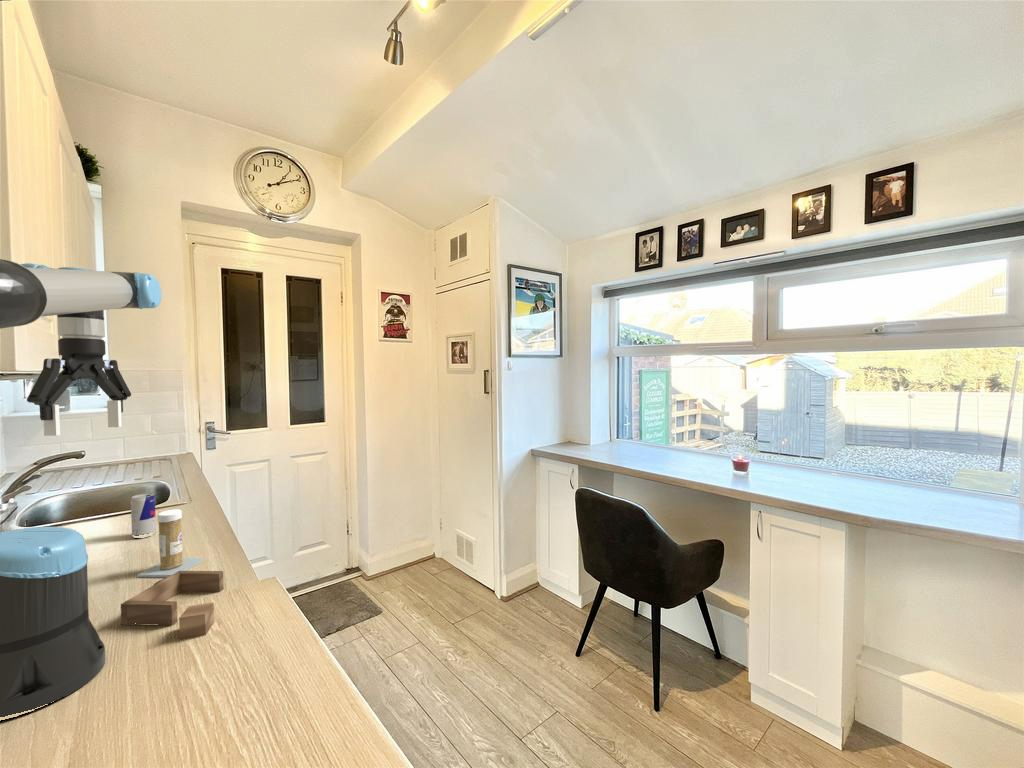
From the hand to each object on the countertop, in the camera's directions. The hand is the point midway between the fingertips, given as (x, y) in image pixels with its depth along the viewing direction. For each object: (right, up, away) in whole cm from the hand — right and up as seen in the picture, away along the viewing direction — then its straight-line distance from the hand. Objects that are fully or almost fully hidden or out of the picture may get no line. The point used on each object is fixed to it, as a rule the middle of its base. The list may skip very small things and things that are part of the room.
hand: (85, 431), depth 96 cm
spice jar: (+15, -34, +6) cm, 38 cm away
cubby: (+29, -35, -10) cm, 46 cm away
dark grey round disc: (+20, -35, -1) cm, 40 cm away
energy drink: (-11, -34, +28) cm, 45 cm away
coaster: (+15, -34, +6) cm, 38 cm away
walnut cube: (+40, -35, -19) cm, 56 cm away
